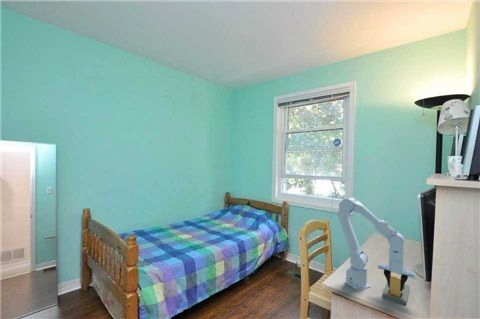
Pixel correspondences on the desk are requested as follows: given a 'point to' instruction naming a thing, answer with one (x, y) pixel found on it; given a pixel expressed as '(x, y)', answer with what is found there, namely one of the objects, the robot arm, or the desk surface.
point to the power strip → (400, 300)
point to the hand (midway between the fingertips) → (395, 288)
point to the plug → (395, 285)
